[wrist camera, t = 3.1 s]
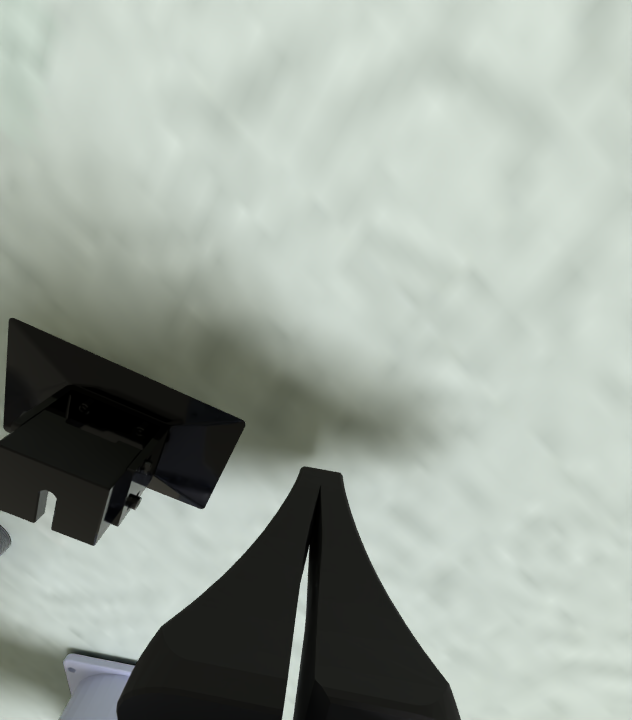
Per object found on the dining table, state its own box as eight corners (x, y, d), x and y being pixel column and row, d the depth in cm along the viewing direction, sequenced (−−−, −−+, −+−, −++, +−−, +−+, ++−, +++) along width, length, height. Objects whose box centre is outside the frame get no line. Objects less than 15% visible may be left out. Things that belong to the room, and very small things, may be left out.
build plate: (-17, 420, 17) (-141, 495, 13) (-8, 275, 14) (-167, 310, 10) (234, 525, 18) (196, 627, 14) (293, 410, 15) (267, 495, 11)
